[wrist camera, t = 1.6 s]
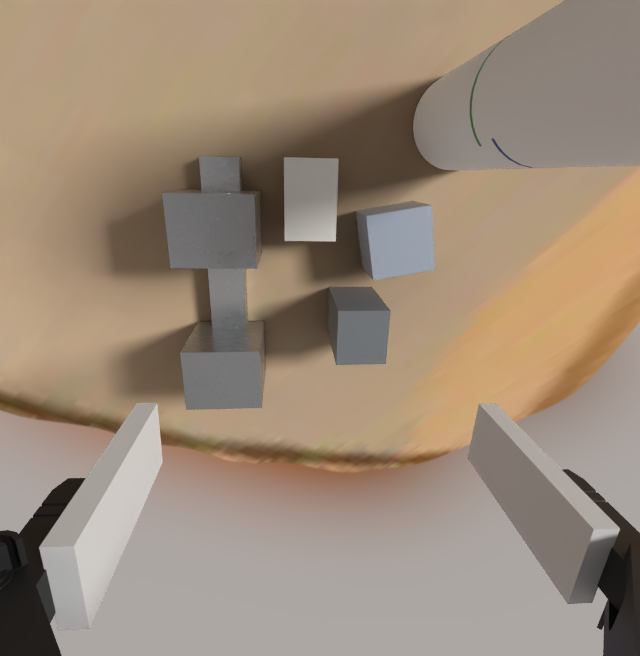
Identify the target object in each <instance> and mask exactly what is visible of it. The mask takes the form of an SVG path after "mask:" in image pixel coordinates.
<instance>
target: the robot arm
mask: <svg viewBox="0 0 640 656" xmlns="http://www.w3.org/2000/svg"><path fill="white" fill-rule="evenodd" d="M468 459H469V461H470V462H471V464H472V465H473V467H474V468H475V470H476V471H477V473H478V474H479V476H480V477H481V478H482V480H483V481H484V483H485V484H486V486H487V487H488V488H489V490H490V491H491V493H492V494H493V496H494V497H495V499H496V500H497V502H498V503H499V505H500V506H501V508H502V509H503V510H504V512H505V513H506V515H507V516H508V518H509V519H510V521H511V522H512V523H513V525H514V526H515V528H516V529H517V531H518V532H519V534H520V535H521V537H522V538H523V540H524V541H525V542H526V544H527V545H528V547H529V548H530V550H531V551H532V553H533V554H534V556H535V557H536V559H537V560H538V561H539V563H540V564H541V566H542V567H543V569H544V570H545V572H546V573H547V575H548V576H549V577H550V579H551V580H552V582H553V583H554V585H555V586H556V588H557V589H558V590H559V592H560V593H561V595H562V596H563V598H564V599H565V601H566V602H567V604H574V603H592V602H593V599H594V596H595V594H596V591H597V588H598V587H599V588H600V589H601V591H602V592H603V593H604V594H605V596H606V597H607V598H608V601H607V603H606V606H605V609H604V611H603V614H602V616H601V618H600V621H599V624H598V626H597V628H599V629H602V628H603V626H604V650H603V653H604V655H603V656H640V533H639V532H638V531H637V530H636V529H635V528H634V527H633V526H632V525H631V524H630V523H629V522H628V521H627V520H625V519H624V517H622V516H621V515H620V514H619V513H618V512H617V511H616V510H615V509H614V508H613V507H612V506H611V505H610V504H609V503H608V502H606V501H605V499H604V498H603V497H602V496H601V495H600V494H599V493H596V491H595V489H593V488H592V487H591V486H590V485H589V484H588V483H587V482H586V481H585V480H584V479H583V478H581V477H579V476H578V475H576V474H575V473H573V472H571V471H570V470H568V469H565V470H562V469H561V468H559V466H558V465H556V464H555V462H553V460H552V459H550V457H549V456H548V455H546V453H545V452H544V451H543V450H541V448H540V447H539V446H538V445H537V444H536V443H535V442H534V441H533V440H532V439H531V438H530V437H529V436H528V435H526V433H525V432H524V431H523V430H522V429H521V428H520V427H519V426H518V425H517V424H516V423H515V422H514V421H513V420H512V419H511V418H510V417H509V416H508V415H507V414H506V413H505V412H504V411H503V410H502V409H501V408H500V407H499V406H498V405H497V404H479V406H478V411H477V415H476V420H475V425H474V430H473V435H472V440H471V445H470V450H469V455H468ZM161 465H162V450H161V439H160V428H159V416H158V405H157V403H136V405H135V406H134V408H133V409H132V411H131V412H130V414H129V415H128V417H127V418H126V420H125V421H124V423H123V424H122V426H121V427H120V429H119V430H118V431H117V433H116V434H115V436H114V438H113V439H112V440H111V442H110V443H109V445H108V447H107V448H106V449H105V451H104V452H103V454H102V455H101V457H100V458H99V460H98V461H97V463H96V464H95V465H94V467H93V468H92V470H91V471H90V473H89V474H88V476H87V477H86V478H69V479H67V480H66V481H64V482H63V483H61V484H60V485H59V486H57V487H56V488H55V489H53V490H52V491H51V493H50V494H49V495H48V497H47V498H46V499H45V500H44V502H43V503H42V506H41V507H39V508H38V510H37V511H36V513H35V514H34V515H33V518H31V519H30V520H29V521H28V523H27V524H26V525H25V527H24V528H23V529H22V531H21V532H20V533H19V534H18V533H17V532H13V531H9V530H7V531H0V656H61V653H60V650H59V647H58V645H57V642H56V639H55V637H54V634H53V631H52V628H51V625H50V622H51V620H52V619H53V616H54V615H55V619H56V623H57V628H58V631H59V630H78V629H90V627H91V625H92V623H93V620H94V618H95V616H96V613H97V611H98V609H99V606H100V604H101V602H102V600H103V597H104V595H105V593H106V590H107V588H108V586H109V584H110V581H111V579H112V577H113V575H114V572H115V570H116V567H117V565H118V563H119V561H120V558H121V556H122V554H123V552H124V549H125V547H126V545H127V542H128V540H129V538H130V536H131V533H132V531H133V529H134V526H135V524H136V522H137V520H138V517H139V515H140V513H141V510H142V508H143V506H144V504H145V501H146V499H147V497H148V494H149V492H150V490H151V487H152V485H153V483H154V481H155V478H156V476H157V474H158V471H159V469H160V467H161Z"/></svg>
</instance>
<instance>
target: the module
mask: <svg viewBox="0 0 640 656" xmlns="http://www.w3.org/2000/svg"><path fill="white" fill-rule="evenodd" d="M389 321H390V310H389V308H388V307H387V306H386V304H385V303H384V302H383V301H382V299H381V298H380V297H379V295H378V294H377V293H376V291H375V290H374V289H373V288H372V287H329V306H328V336H329V339H330V343H331V347H332V351H333V354H334V358H335V362H336V365H352V364H386V355H387V344H388V332H389Z"/></svg>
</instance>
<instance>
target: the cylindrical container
mask: <svg viewBox="0 0 640 656" xmlns="http://www.w3.org/2000/svg"><path fill="white" fill-rule="evenodd" d="M413 133H414V139H415V143H416V146H417V148H418V150H419V152H420V154H421V155H422V156H423V157H424V159H425V160H426V161H427V162H429V163H430V164H431V165H433V166H435V167H437V168H439V169H443V170H487V169H522V168H559V167H598V166H636V165H640V0H565V1H563V2H562V3H560V4H559V5H557V6H555V7H554V8H552V9H551V10H549V11H547V12H546V13H544V14H543V15H541V16H539V17H538V18H536V19H535V20H533V21H531V22H530V23H528V24H527V25H525V26H523V27H522V28H520V29H519V30H517V31H515V32H514V33H512V34H511V35H509V36H507V37H506V38H504V39H503V40H501V41H499V42H498V43H496V44H495V45H493V46H491V47H490V48H488V49H486V50H485V51H483V52H482V53H480V54H478V55H477V56H475V57H474V58H472V59H470V60H469V61H467V62H466V63H464V64H462V65H461V66H459V67H458V68H456V69H454V70H453V71H451V72H450V73H448V74H446V75H445V76H443V77H442V78H440V79H439V80H437V81H436V82H434V83H433V84H432V85H431V86H430V87H429V88H428V89H427V90H426V91H425V93H424V94H423V96H422V97H421V99H420V101H419V103H418V105H417V108H416V111H415V115H414V121H413Z"/></svg>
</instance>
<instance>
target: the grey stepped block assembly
mask: <svg viewBox="0 0 640 656" xmlns="http://www.w3.org/2000/svg"><path fill="white" fill-rule="evenodd" d="M199 165H200V177H201V190H194V189H185V190H179V191H172V192H165V193H162V198H163V207H164V216H165V225H166V234H167V243H168V252H169V261H170V268H191V269H208V279H209V291H210V304H211V316H212V321H198V323H197V325H196V326H195V328H194V330H193V332H192V333H191V335H190V337H189V338H188V340H187V342H186V343H185V345H184V347H183V348H182V350H181V352H180V358H181V367H182V376H183V385H184V394H185V403H186V410H194V409H234V408H262V400H263V390H264V380H265V370H266V365H265V332H264V321H248V312H247V289H246V268H257V266H258V263H259V260H260V256H261V253H262V231H261V197H260V191H245V190H242V179H241V158H240V157H223V156H199Z"/></svg>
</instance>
